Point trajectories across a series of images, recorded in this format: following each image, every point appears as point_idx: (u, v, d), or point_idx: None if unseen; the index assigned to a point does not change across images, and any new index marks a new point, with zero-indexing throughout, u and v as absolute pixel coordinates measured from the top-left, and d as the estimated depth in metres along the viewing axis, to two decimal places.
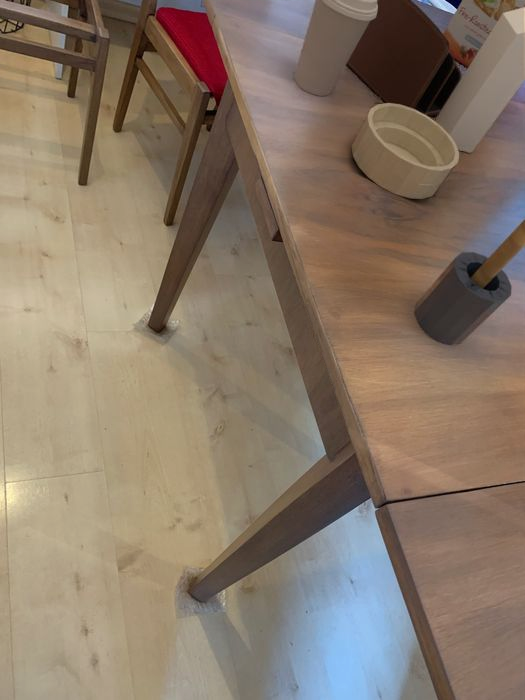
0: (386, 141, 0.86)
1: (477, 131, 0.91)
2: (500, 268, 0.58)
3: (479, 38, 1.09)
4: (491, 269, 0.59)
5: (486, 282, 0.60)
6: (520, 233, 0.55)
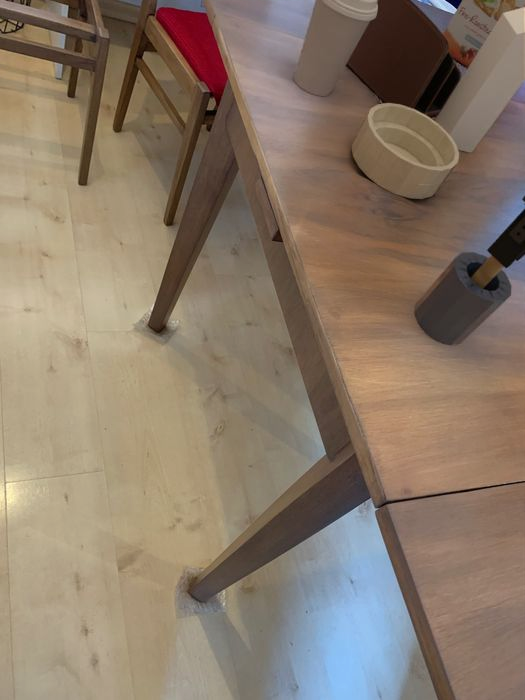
0: (386, 141, 0.86)
1: (477, 131, 0.91)
2: (500, 268, 0.58)
3: (479, 38, 1.09)
4: (491, 269, 0.59)
5: (486, 282, 0.60)
6: None
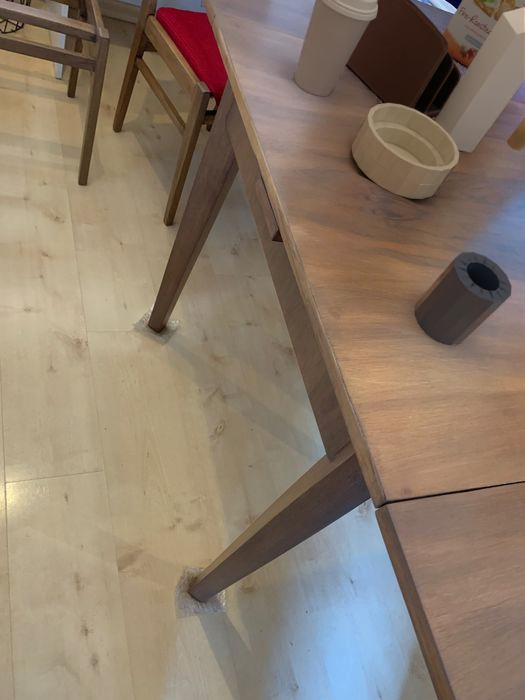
0: (386, 141, 0.86)
1: (477, 131, 0.91)
2: None
3: (479, 38, 1.09)
4: None
5: None
6: None
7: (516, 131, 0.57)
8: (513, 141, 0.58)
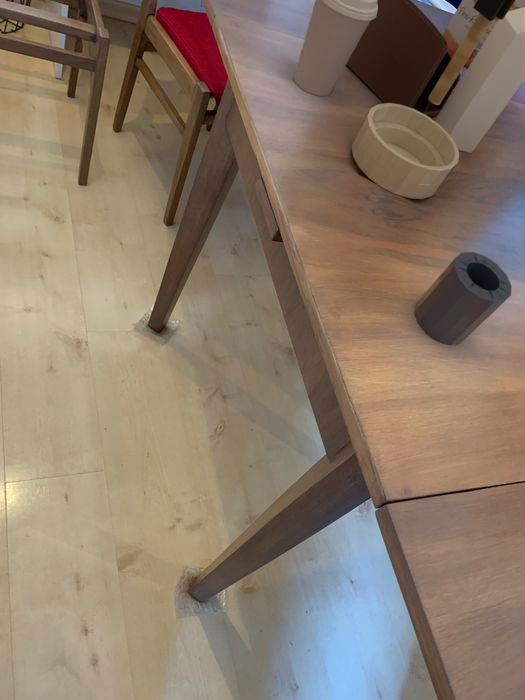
0: (386, 141, 0.86)
1: (477, 131, 0.91)
2: (485, 27, 0.66)
3: None
4: (477, 28, 0.67)
5: (473, 45, 0.68)
6: None
7: (434, 89, 0.74)
8: (432, 97, 0.74)
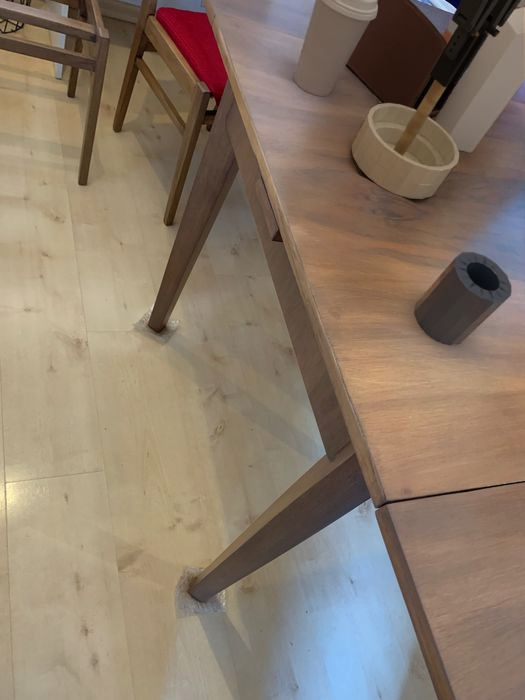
0: (386, 141, 0.86)
1: (477, 131, 0.91)
2: (440, 91, 0.73)
3: None
4: (434, 92, 0.73)
5: (431, 106, 0.75)
6: None
7: (398, 142, 0.80)
8: (396, 149, 0.81)
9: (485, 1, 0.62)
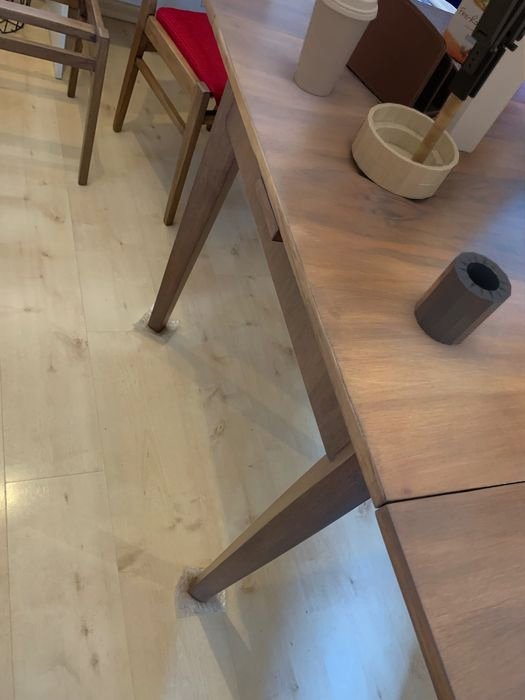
0: (386, 141, 0.86)
1: (477, 131, 0.91)
2: (458, 105, 0.74)
3: None
4: (452, 106, 0.74)
5: (448, 119, 0.75)
6: None
7: (415, 154, 0.81)
8: None
9: (505, 18, 0.62)
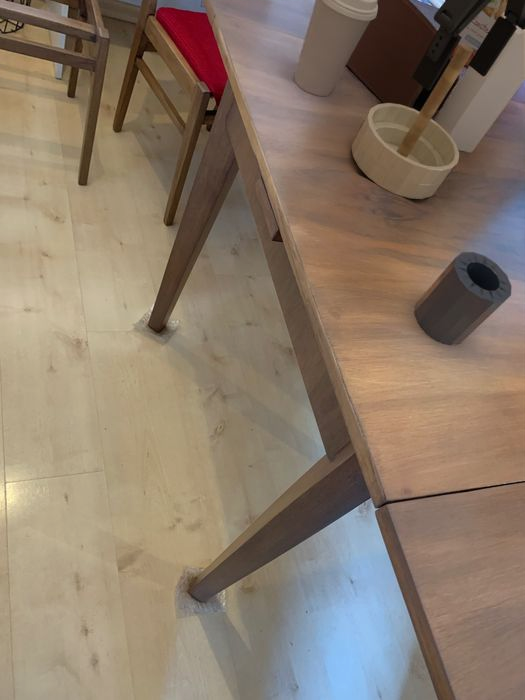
0: (386, 141, 0.86)
1: (477, 131, 0.91)
2: (436, 106, 0.75)
3: (479, 38, 1.09)
4: (429, 106, 0.75)
5: (427, 120, 0.76)
6: (448, 70, 0.71)
7: None
8: None
9: (474, 2, 0.59)
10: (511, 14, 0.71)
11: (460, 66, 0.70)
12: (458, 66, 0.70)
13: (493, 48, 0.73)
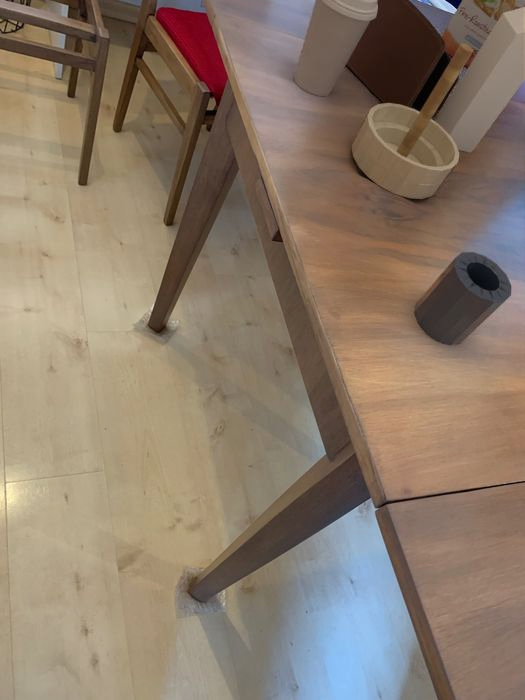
0: (386, 141, 0.86)
1: (477, 131, 0.91)
2: (436, 106, 0.75)
3: (479, 38, 1.09)
4: (429, 106, 0.75)
5: (427, 120, 0.76)
6: (448, 70, 0.71)
7: None
8: None
9: None
10: None
11: (460, 66, 0.70)
12: (458, 66, 0.70)
13: None
